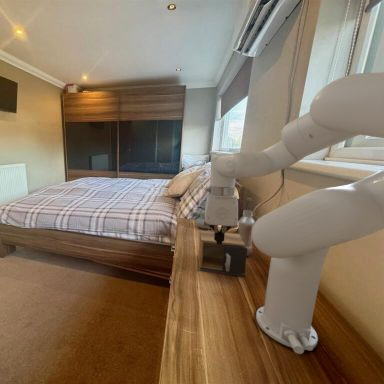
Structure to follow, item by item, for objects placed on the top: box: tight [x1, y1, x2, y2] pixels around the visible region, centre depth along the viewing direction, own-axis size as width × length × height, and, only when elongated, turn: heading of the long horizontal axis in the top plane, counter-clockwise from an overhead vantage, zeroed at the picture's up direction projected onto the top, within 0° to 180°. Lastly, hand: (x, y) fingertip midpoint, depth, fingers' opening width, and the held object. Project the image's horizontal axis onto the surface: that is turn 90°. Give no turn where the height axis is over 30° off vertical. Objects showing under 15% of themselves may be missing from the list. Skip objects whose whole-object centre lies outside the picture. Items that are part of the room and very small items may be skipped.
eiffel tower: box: [234, 192, 253, 242], centre depth 107 cm, size 11×11×25 cm
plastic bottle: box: [238, 209, 256, 257], centre depth 88 cm, size 6×7×20 cm
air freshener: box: [194, 209, 212, 230], centre depth 121 cm, size 11×8×10 cm
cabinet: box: [197, 230, 245, 277], centre depth 80 cm, size 11×15×12 cm
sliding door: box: [222, 245, 248, 275], centre depth 73 cm, size 5×7×10 cm, turn 74°
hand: (218, 242), depth 71 cm, fingers closed
